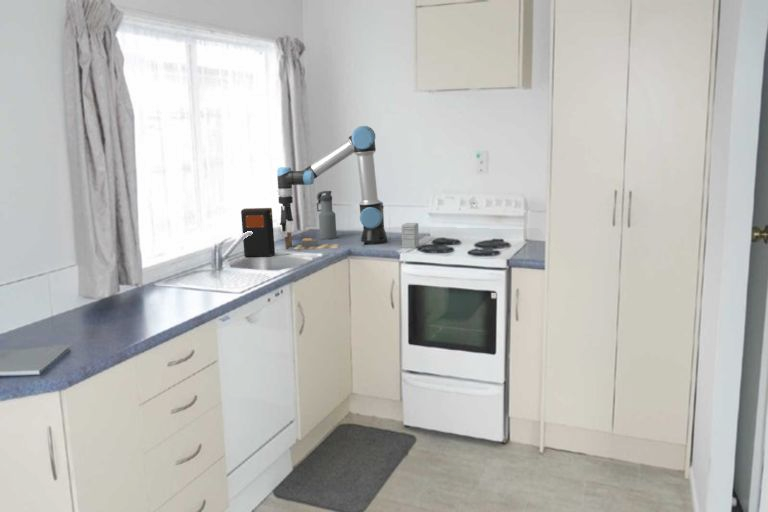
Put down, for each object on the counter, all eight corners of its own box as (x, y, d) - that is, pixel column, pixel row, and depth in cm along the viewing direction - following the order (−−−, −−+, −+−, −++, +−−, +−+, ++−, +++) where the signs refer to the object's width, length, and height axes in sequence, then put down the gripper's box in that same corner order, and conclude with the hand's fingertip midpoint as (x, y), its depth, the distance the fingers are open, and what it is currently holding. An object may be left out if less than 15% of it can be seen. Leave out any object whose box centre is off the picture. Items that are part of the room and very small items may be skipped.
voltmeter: (276, 254, 365) (272, 207, 360) (272, 257, 357) (268, 209, 352) (247, 254, 367) (243, 207, 362) (242, 257, 358) (238, 210, 354)
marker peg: (292, 248, 380) (291, 232, 378) (291, 249, 377) (290, 233, 375) (286, 248, 380) (285, 232, 378) (285, 249, 377) (284, 233, 376)
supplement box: (406, 245, 375) (405, 222, 372) (419, 246, 372) (418, 222, 370) (401, 248, 368) (401, 224, 366) (415, 248, 365) (414, 224, 363)
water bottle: (316, 239, 406) (313, 192, 401) (324, 236, 415) (321, 190, 410) (332, 239, 402) (329, 192, 397) (339, 237, 411) (336, 190, 406)
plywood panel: (340, 246, 381) (340, 244, 380) (337, 250, 369) (337, 248, 369) (297, 247, 382) (297, 245, 382) (293, 251, 371) (293, 249, 370)
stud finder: (317, 245, 380) (317, 238, 379) (316, 246, 376) (316, 239, 375) (303, 245, 380) (302, 238, 380) (301, 246, 376) (301, 239, 376)
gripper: (283, 193, 386) (285, 231, 390) (273, 198, 361) (275, 238, 365) (296, 193, 385) (298, 231, 389) (287, 198, 361) (289, 238, 365)
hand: (287, 234), depth 377 cm, fingers open, 13 cm apart
